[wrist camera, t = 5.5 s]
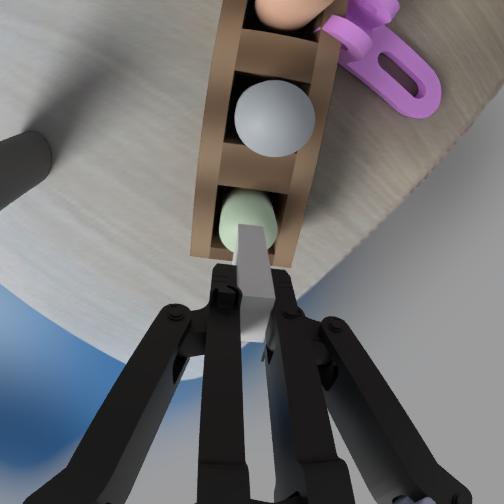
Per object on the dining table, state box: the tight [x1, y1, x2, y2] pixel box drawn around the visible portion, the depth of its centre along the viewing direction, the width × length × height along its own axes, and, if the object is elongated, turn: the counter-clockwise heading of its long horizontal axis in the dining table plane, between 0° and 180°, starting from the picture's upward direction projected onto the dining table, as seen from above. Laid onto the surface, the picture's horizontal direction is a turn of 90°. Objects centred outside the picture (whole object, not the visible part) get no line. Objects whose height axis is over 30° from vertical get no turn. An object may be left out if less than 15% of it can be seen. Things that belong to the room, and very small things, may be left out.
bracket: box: [308, 0, 441, 119], centre depth 18 cm, size 13×6×7 cm, turn 58°
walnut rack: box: [190, 0, 348, 268], centre depth 21 cm, size 23×8×6 cm, turn 171°
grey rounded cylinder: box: [235, 80, 315, 157], centre depth 17 cm, size 4×4×6 cm
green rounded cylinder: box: [219, 186, 278, 253], centre depth 24 cm, size 4×4×6 cm
